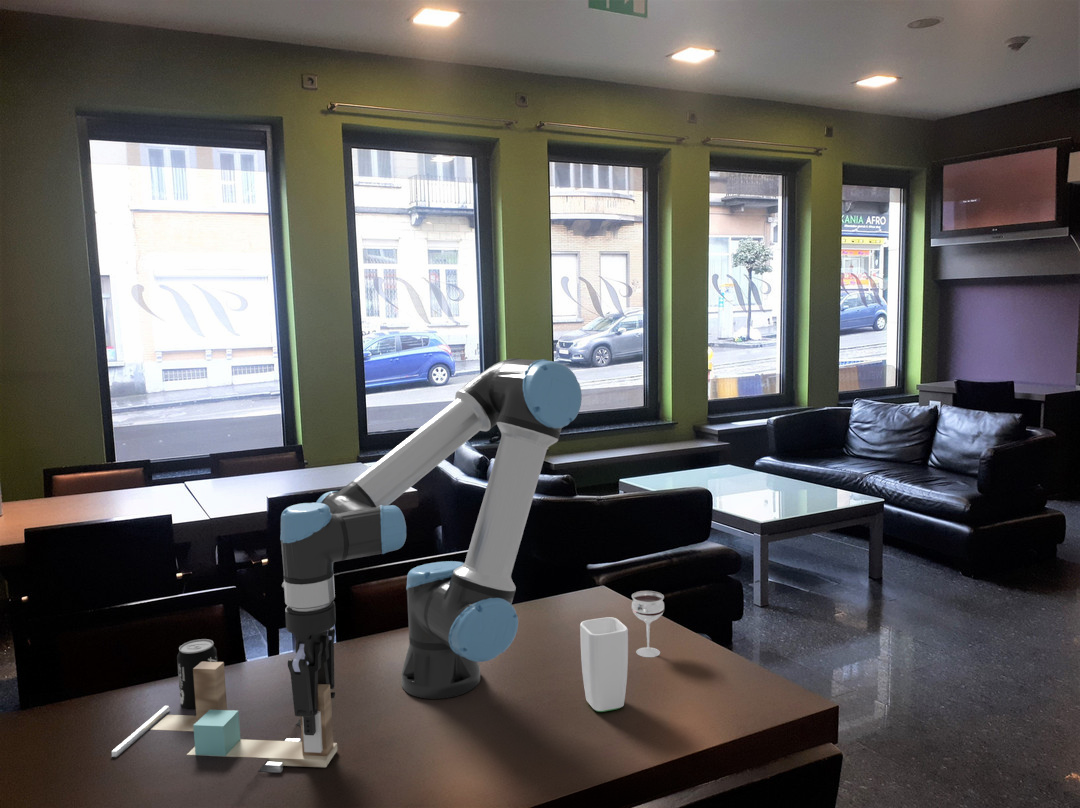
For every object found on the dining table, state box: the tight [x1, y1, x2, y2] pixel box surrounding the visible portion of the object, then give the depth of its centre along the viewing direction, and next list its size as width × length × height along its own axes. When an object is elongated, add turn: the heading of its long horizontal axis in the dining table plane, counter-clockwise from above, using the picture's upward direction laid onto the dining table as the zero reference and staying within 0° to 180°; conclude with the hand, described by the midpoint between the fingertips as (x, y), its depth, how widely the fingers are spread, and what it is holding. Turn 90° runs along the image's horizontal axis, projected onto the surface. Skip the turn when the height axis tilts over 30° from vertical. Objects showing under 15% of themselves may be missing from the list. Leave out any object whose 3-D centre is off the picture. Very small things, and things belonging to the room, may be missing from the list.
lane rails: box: [111, 705, 302, 773], centre depth 131 cm, size 28×15×2 cm, turn 84°
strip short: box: [149, 661, 228, 732], centre depth 135 cm, size 12×5×12 cm, turn 84°
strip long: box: [186, 684, 338, 768], centre depth 126 cm, size 23×5×12 cm, turn 84°
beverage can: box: [176, 638, 218, 711], centre depth 143 cm, size 7×7×12 cm
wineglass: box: [631, 590, 665, 658], centre depth 163 cm, size 7×7×12 cm
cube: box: [193, 709, 241, 757], centre depth 127 cm, size 5×5×5 cm
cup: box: [579, 616, 629, 713], centre depth 141 cm, size 7×7×15 cm
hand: (317, 744), depth 126 cm, fingers closed on strip long, 3 cm apart
